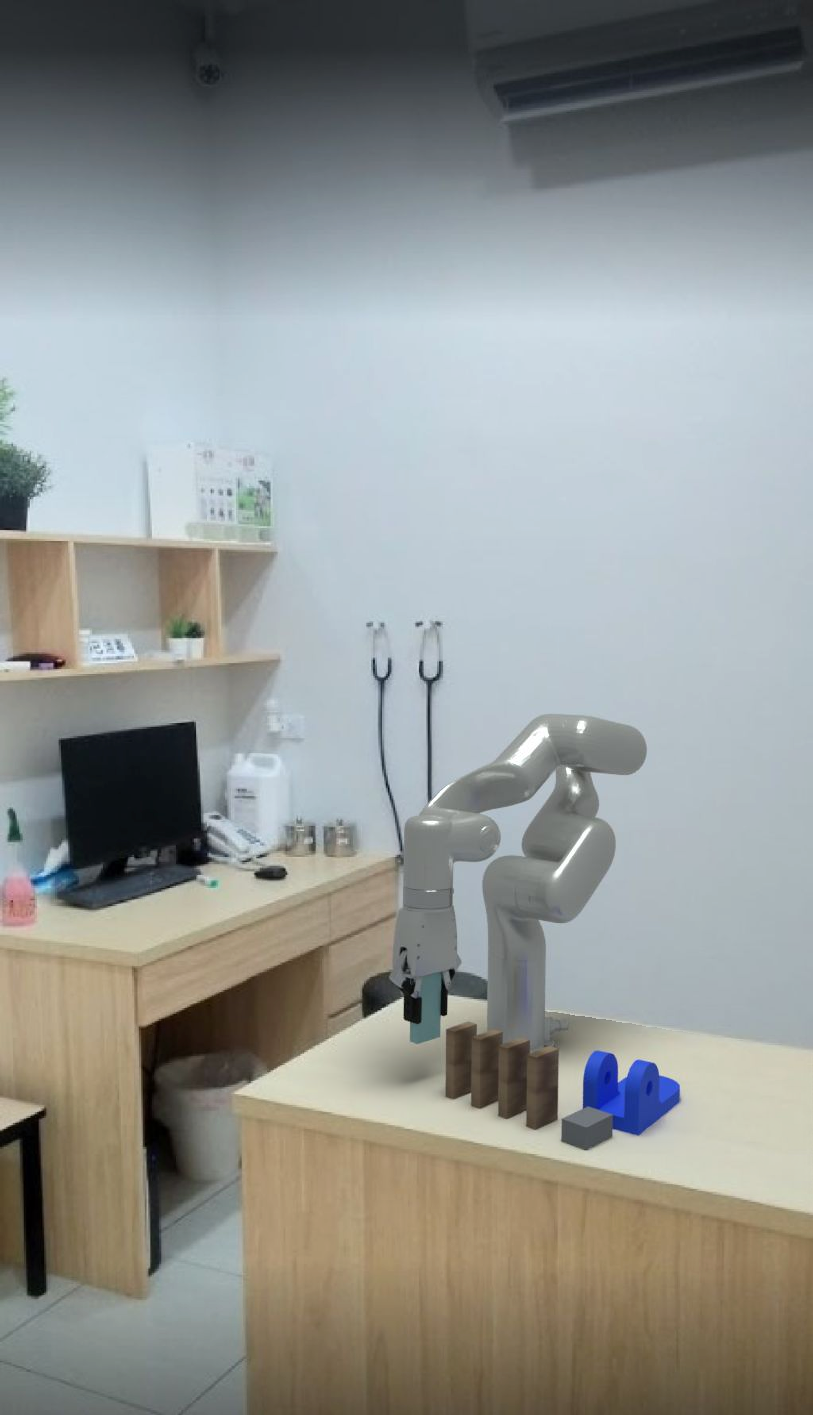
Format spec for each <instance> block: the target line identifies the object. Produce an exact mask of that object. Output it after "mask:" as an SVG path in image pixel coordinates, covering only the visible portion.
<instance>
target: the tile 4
mask: <svg viewBox="0 0 813 1415" xmlns="http://www.w3.org/2000/svg"><path fill="white" fill-rule="evenodd" d="M527 1054H530V1040H529V1039H525V1038H522V1037H521V1038H518V1039H515V1040H513V1041H510V1042H507V1043H504V1044H502V1045H499V1079H498V1101H497V1117H499V1118H502V1119H506V1120H508V1119H511V1118H514V1117H515V1116H517V1115H521V1114H522V1113H524V1112H527Z"/></svg>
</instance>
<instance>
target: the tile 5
mask: <svg viewBox="0 0 813 1415" xmlns="http://www.w3.org/2000/svg"><path fill="white" fill-rule="evenodd" d="M559 1054H560V1051H559V1048H558V1047H555V1046H554V1047H552V1046H548V1047H545V1048H543V1049H540V1050H538V1051H535V1052H532V1053H530V1054H527V1111H525V1112H526V1115H525V1116H526V1117H525V1118H526V1121H525V1122H526V1124H525V1125H526V1127H527V1128H529V1129H532V1130H536V1131H537V1130H538V1129H541V1128H543V1127H545V1126H547V1125H549V1124H551V1123H553V1122H556V1121H558V1119H559V1118H558V1117H559V1057H560V1056H559Z"/></svg>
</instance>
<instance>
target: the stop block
mask: <svg viewBox="0 0 813 1415" xmlns="http://www.w3.org/2000/svg"><path fill="white" fill-rule="evenodd" d="M613 1132H614V1129H613V1115H612V1114H609V1113H606V1112H603V1111H600V1110H597V1109H594V1108H591V1107H589V1106H588V1107H586V1108H584V1109H583V1108H581V1109H579V1110H577V1111H575V1112H573V1113H571V1114H569V1115H566V1116H565V1117H563V1118H561V1137H560V1138H561V1140H560V1141H561V1142H564V1143H566V1144H569V1145H571V1146H574V1147H576V1148H578V1149H579V1148H580V1149H582V1150H585V1151H588V1150H589V1149H591V1148H593V1147H595V1146H597V1145H600V1144H601V1143H603V1142H606V1140H609V1139H611V1138H613Z"/></svg>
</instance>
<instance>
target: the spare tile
mask: <svg viewBox="0 0 813 1415" xmlns="http://www.w3.org/2000/svg"><path fill="white" fill-rule="evenodd" d="M413 982H414V979H411V981H410V984H411V985H412V986H413ZM419 997H422V1020H421V1023H420V1024H415V1023H412V1022H409V1042H410V1043H413V1044H416V1045H419V1044H422V1043H426V1042H429V1041H432V1040H436V1039H439V1038H441V1022H442V1021H441V1019H442V1016H441V1015H440V1010H441V972H440V973H436V974H432V975H429V976H425V977H423V978H422V982H421V987H420V992H419Z"/></svg>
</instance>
